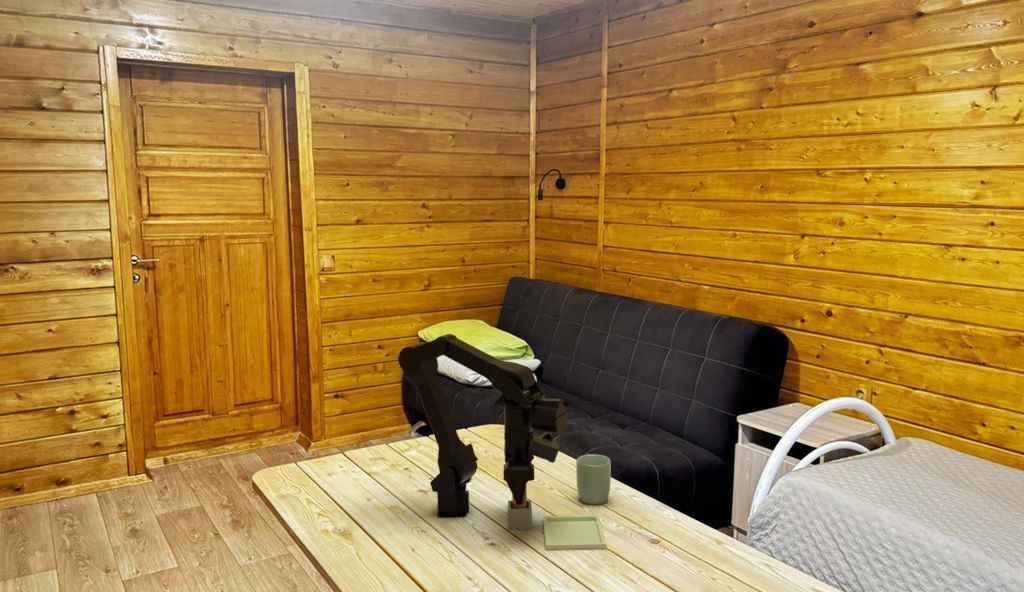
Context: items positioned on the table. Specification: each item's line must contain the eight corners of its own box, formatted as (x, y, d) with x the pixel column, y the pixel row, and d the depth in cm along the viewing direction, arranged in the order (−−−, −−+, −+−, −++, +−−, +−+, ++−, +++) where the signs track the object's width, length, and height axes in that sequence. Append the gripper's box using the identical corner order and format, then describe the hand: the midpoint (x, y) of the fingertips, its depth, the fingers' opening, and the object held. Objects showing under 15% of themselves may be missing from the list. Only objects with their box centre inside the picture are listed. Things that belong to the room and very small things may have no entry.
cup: (609, 509, 176) (609, 466, 175) (574, 507, 178) (574, 464, 176) (612, 496, 184) (611, 455, 182) (578, 494, 185) (578, 453, 184)
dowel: (513, 528, 166) (512, 482, 165) (513, 522, 169) (512, 477, 168) (527, 527, 166) (526, 482, 165) (527, 522, 169) (526, 477, 168)
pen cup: (508, 532, 165) (507, 509, 165) (508, 522, 170) (508, 500, 170) (532, 532, 165) (531, 509, 165) (531, 522, 170) (531, 500, 170)
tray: (545, 552, 156) (545, 545, 156) (543, 522, 170) (543, 516, 170) (606, 551, 156) (606, 544, 156) (598, 521, 170) (598, 515, 170)
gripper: (559, 440, 156) (560, 515, 158) (554, 413, 174) (555, 481, 176) (502, 441, 156) (504, 516, 158) (503, 414, 174) (505, 482, 176)
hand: (519, 498), depth 167 cm, fingers open, 6 cm apart
